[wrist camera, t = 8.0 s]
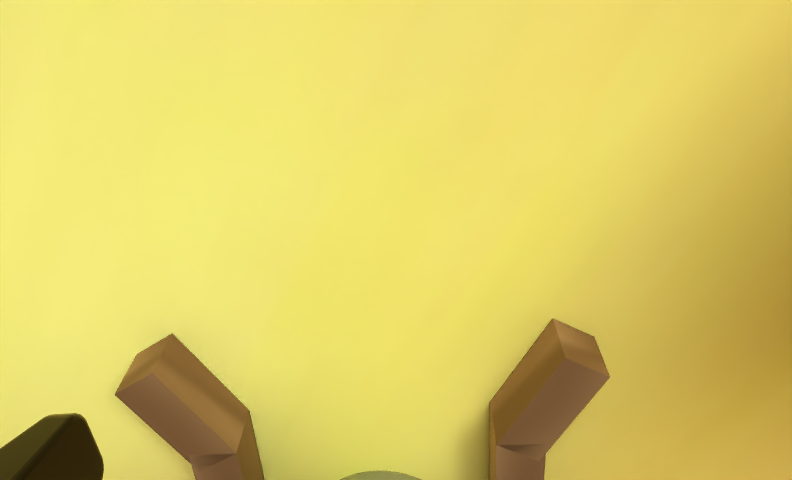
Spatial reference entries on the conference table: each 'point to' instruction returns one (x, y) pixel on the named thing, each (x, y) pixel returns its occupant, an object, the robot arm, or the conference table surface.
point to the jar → (380, 476)
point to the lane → (234, 436)
